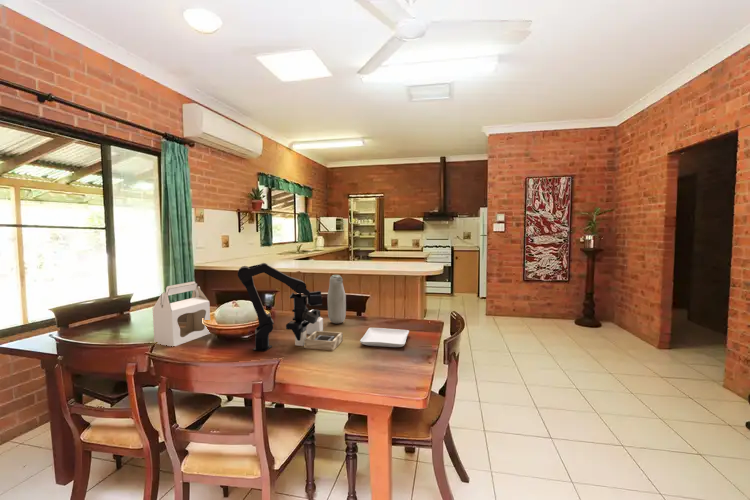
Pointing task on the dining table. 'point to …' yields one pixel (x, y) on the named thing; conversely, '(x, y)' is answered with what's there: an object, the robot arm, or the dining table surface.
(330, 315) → the tall grey vase
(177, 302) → the gable box
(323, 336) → the socket box
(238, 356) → the dining table surface
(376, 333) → the salad plate
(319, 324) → the medicine bottle
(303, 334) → the grey rectangular prism
